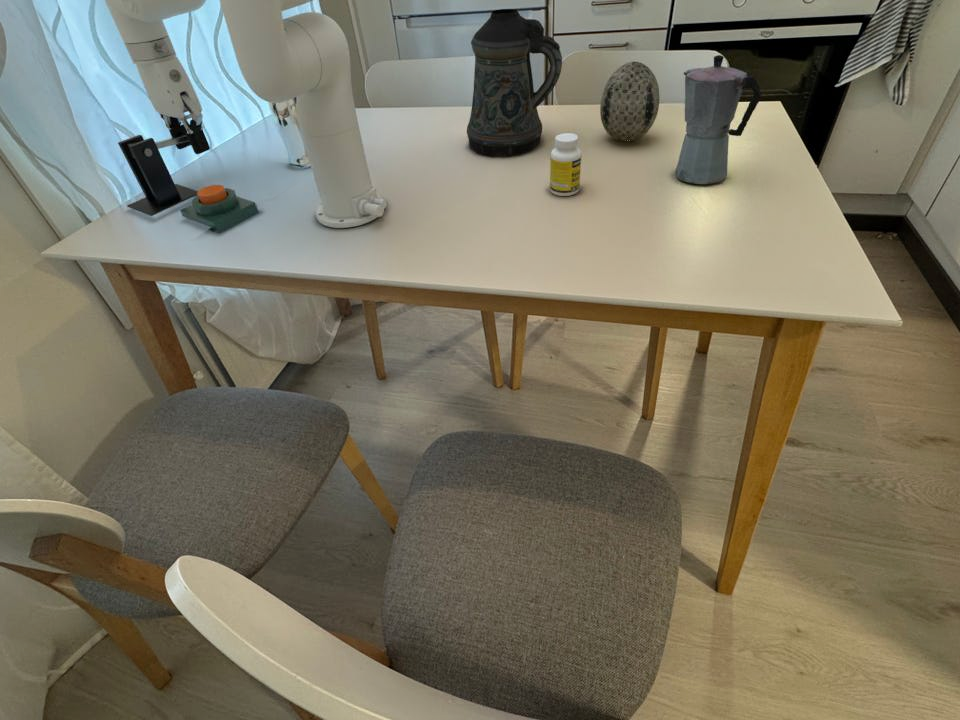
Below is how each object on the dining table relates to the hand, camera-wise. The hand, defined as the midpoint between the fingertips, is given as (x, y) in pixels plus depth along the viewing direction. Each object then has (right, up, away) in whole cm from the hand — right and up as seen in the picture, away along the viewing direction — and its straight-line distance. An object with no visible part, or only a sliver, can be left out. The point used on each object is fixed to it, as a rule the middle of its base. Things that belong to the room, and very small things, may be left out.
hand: (193, 148), depth 112 cm
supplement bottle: (+74, -12, -10) cm, 76 cm away
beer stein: (+65, +5, +10) cm, 66 cm away
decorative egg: (+90, +4, +6) cm, 90 cm away
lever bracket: (-5, -12, -1) cm, 13 cm away
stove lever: (-3, -2, -4) cm, 6 cm away
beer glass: (+19, 0, +10) cm, 22 cm away
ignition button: (+9, -13, -9) cm, 18 cm away
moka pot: (+100, -9, -10) cm, 100 cm away
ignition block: (+9, -16, -7) cm, 19 cm away
